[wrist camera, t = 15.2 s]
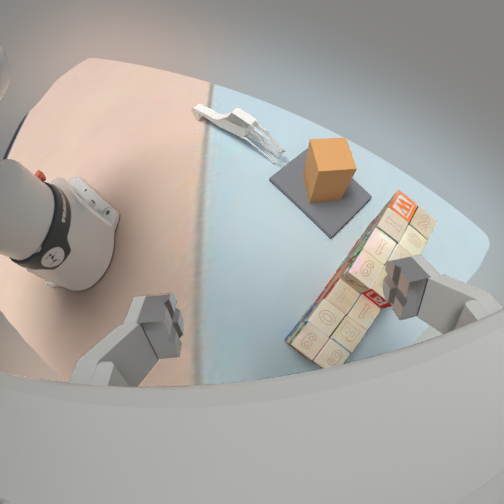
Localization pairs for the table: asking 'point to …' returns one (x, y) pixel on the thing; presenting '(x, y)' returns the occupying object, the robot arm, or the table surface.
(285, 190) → the slate mat
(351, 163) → the orange block
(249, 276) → the table surface
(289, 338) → the stack of blocks
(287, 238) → the table surface
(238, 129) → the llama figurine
